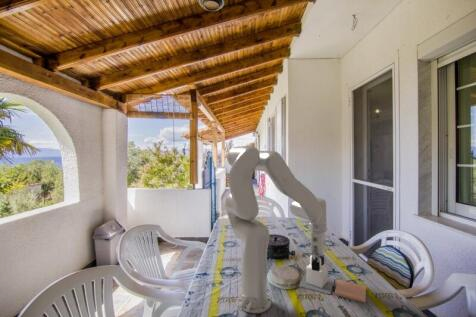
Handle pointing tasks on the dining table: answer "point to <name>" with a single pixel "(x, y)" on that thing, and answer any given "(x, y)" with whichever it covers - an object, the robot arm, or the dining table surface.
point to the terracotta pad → (351, 290)
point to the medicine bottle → (317, 273)
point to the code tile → (326, 288)
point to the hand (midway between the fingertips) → (318, 265)
